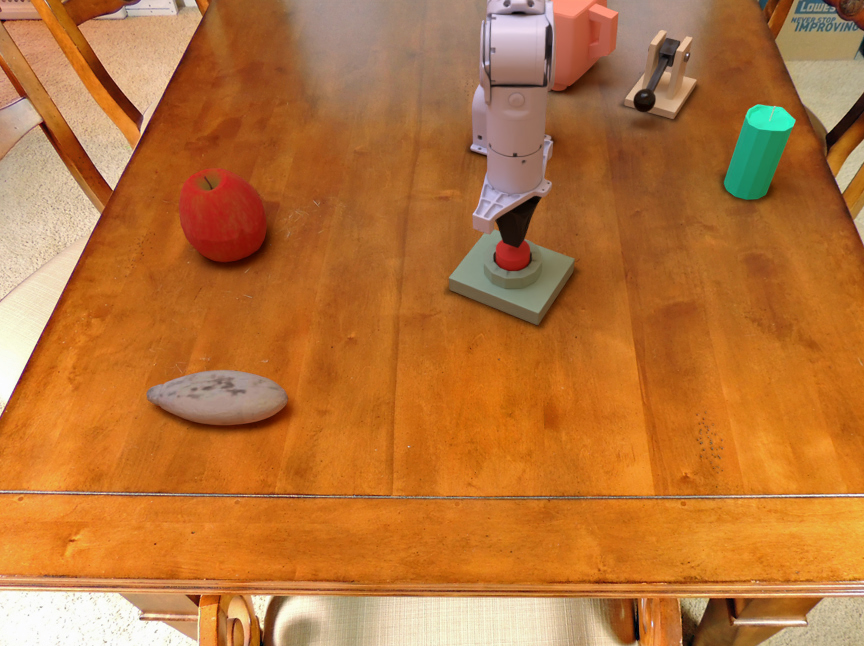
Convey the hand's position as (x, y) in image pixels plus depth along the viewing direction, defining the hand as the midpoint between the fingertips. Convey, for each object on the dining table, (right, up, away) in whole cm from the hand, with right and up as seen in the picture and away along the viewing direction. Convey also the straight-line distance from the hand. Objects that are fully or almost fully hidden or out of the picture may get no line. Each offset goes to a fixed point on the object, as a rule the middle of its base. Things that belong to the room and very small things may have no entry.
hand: (513, 241), depth 78 cm
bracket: (+24, +28, +28) cm, 46 cm away
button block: (0, -4, +5) cm, 6 cm away
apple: (-36, +2, +10) cm, 37 cm away
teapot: (+7, +35, +33) cm, 49 cm away
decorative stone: (-32, -19, -5) cm, 37 cm away
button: (0, -2, +2) cm, 3 cm away
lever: (+22, +28, +23) cm, 42 cm away
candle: (+33, +11, +15) cm, 37 cm away
